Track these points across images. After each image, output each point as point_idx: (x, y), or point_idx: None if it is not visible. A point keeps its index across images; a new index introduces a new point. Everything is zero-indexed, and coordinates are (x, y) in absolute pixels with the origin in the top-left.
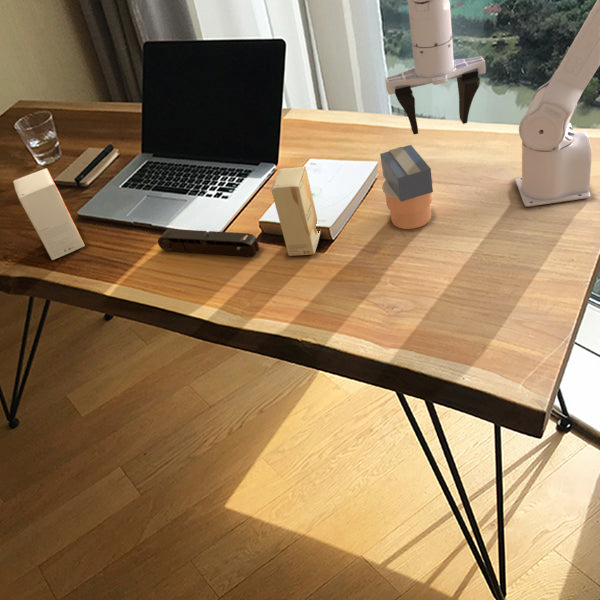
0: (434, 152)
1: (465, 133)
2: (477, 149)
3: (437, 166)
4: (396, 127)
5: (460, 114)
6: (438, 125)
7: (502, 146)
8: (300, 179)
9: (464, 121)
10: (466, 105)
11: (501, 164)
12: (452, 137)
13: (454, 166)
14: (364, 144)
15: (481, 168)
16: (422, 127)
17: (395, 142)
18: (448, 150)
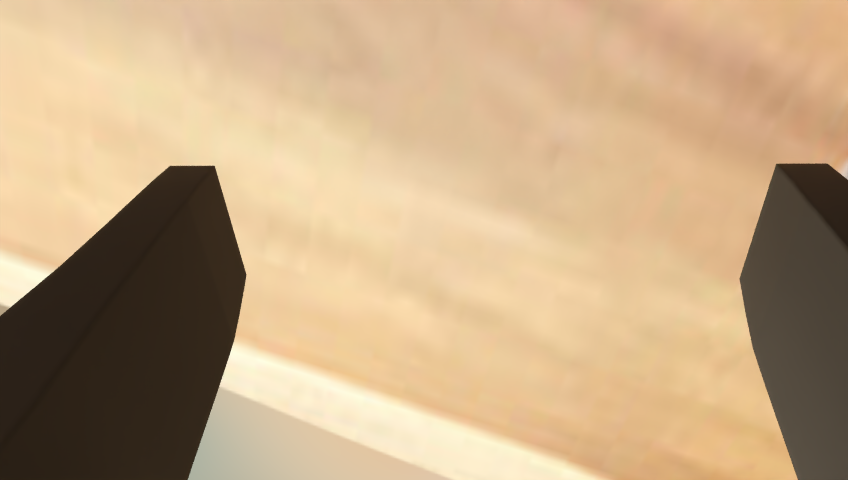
0: (464, 259)
1: (287, 344)
2: (237, 209)
3: (480, 133)
4: (578, 470)
5: (221, 296)
6: (399, 428)
7: (102, 190)
8: None
9: (186, 179)
10: (53, 322)
11: (96, 18)
12: (352, 337)
13: (383, 98)
14: (764, 419)
15: (221, 18)
16: (471, 438)
17: (622, 388)
18: (389, 251)
